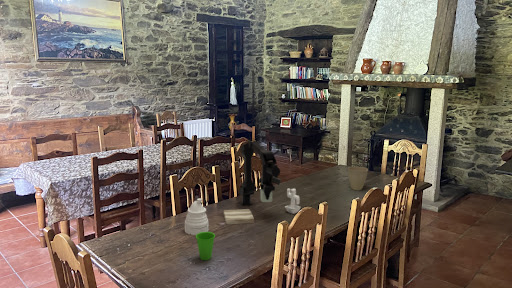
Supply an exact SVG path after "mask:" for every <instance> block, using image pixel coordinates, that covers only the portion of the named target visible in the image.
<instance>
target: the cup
mask: <svg viewBox="0 0 512 288" xmlns="http://www.w3.org/2000/svg"><path fill="white" fill-rule="evenodd" d="M215 237H216V234H215V233H214V232H212V231H208V232H200V233H198V234H197V235H195V238H196V243H197V248H198V249H197V250H198V253H199V254H198V255H199V258H200V260H202V261H208V260H210V259H211V258H212V254H213V248H214V242H215Z"/></svg>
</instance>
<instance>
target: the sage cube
mask: <svg viewBox="0 0 512 288" xmlns="http://www.w3.org/2000/svg"><path fill="white" fill-rule="evenodd" d="M259 194H260V201H261V202H262V203H272V202H273V191H271V193H270V196H269V199H268V200H267V199H266V197H265V194H264V191H263V189H260V193H259Z"/></svg>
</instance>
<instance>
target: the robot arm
mask: <svg viewBox="0 0 512 288" xmlns="http://www.w3.org/2000/svg"><path fill="white" fill-rule="evenodd" d="M255 153H256V154H257V155H258V156H259V159H260V160H261V162H260V164H261V166H262V167H261V174H260V175H261V177H259V179H258V183H259V186H260V188H261V189H260V190H262V189H263V191H264V194H265V197H266V199H267V200H268V199H269V196H270V193H271V191H272V192H274V191H276V187H275V185H278V186H279V185H280V184H281V183H282V179H281V178H279V177H278V176H280V174H281V169H280V168H279V166H278V163H277V159H276V156H275V155H274V153H273V151H271V150H268V149H266V148H264V147H263V146H262V145H260V144H259V143H258V141H256V140H249V141H248V142H246V143H244V144H242V145H241V146H240V154H241V156H242V157H243V178H244V179H243V182H242V183H241V188H240V189H239V190H238V193H239V196H241V199H242V200H241V201H240V202H241V205H242V206H247V205H248V206H249V205H253V203H252V200H251V199H252V195H254V194H255V192H256V183H255V182H254V181H253V177H252V174H253V172H252V168H253V167H252V158H253V156H254V154H255ZM274 184H275V185H274Z"/></svg>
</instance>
